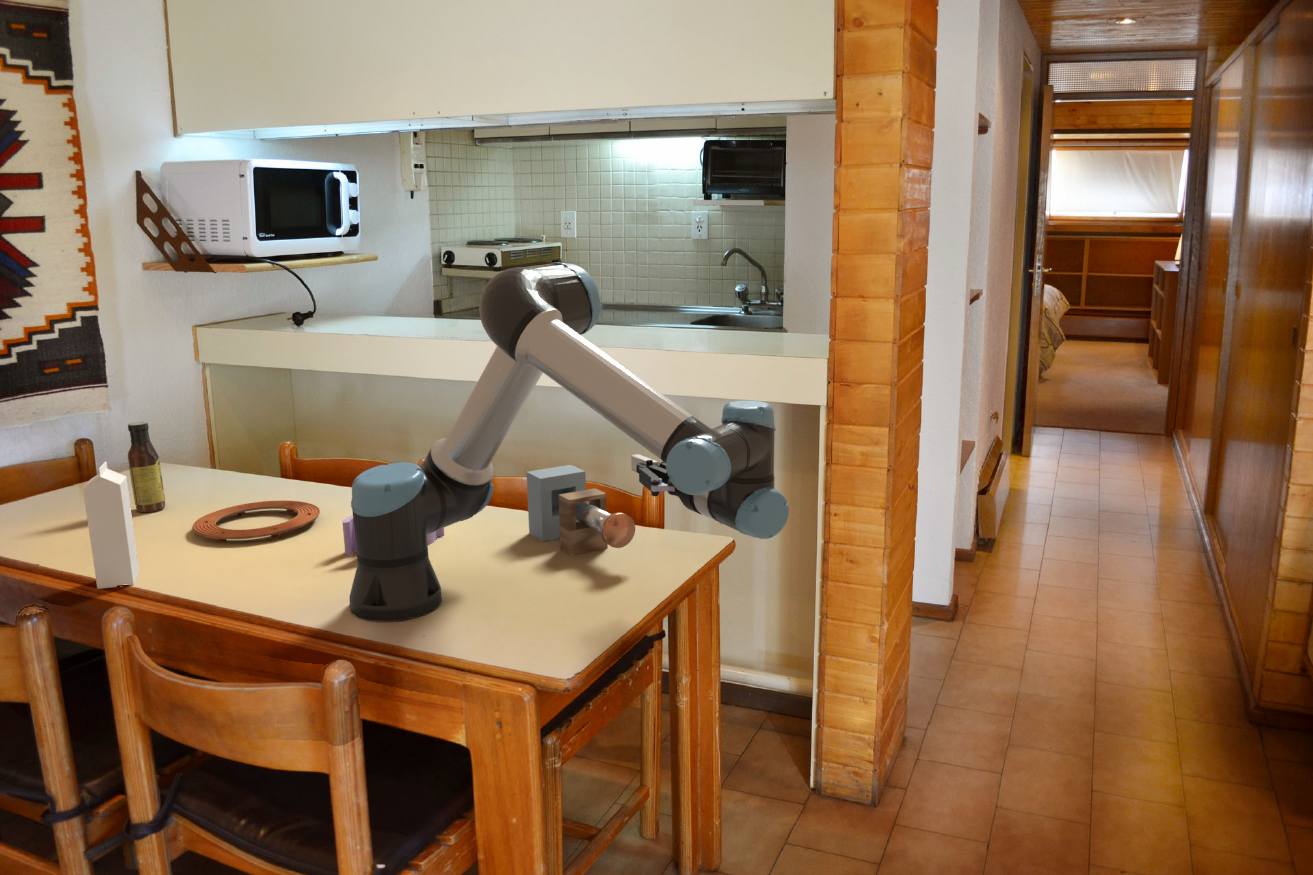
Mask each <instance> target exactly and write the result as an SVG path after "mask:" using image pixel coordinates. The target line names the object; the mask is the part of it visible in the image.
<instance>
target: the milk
mask: <svg viewBox="0 0 1313 875" xmlns="http://www.w3.org/2000/svg"><path fill="white" fill-rule="evenodd" d="M82 491H83V492H82V493H83V499H84V506H85V513H86V521H87V526H88V531H89V532H88V533H89V539H90V540H89V542H90V546H91V553H92V560H93V566H94V574H95V581H96V588H97V590H99V589H109V588H117V585H122V584H134V585H135V583H136V581H137V580H136V578H137V577H139V576H140V568H139V567H140V566H139V559H138V552H137V545H136V538H135V530H134V523H133V516H132V515H133V514H132V510H131V499H130V493H129V486H128V478H127V476H126V475H125V474H121V473H119V472H117V471H114V470H111V469H109V468H108V463H107V461H106V460H105V461H104V462H103V463H102V464H101V465H100V467H98V474H97V475H95V476H94V477H92V478H90V479H89V480H88V482H87V483H85V485H84V486H83V487H82ZM138 575H139V576H138ZM137 579H138V578H137ZM135 580H136V581H135ZM134 582H135V583H134Z"/></svg>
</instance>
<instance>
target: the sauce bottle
mask: <svg viewBox="0 0 1313 875" xmlns="http://www.w3.org/2000/svg"><path fill="white" fill-rule="evenodd" d="M127 429H128V432H129V436H130V448H129V450H128V452H127V460H128V465H129V466H128V469H129V476H130V482H131V488H132V494H133V500H134V501H133V502H134V506H135V509H136V511H137V512H139V513H151V512H157V511H161V510H162V509H164V508H165V507H166V495H165V490H164V483H163V476H162V469H161V463H160V458H159V454H158V453H157V451H156V449H155V447H154V445H153V444H152V442H151V439H150V434H149V433H150V432H149V423H148V422H147V421H135V422H131V423H128V424H127Z"/></svg>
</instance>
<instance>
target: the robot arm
mask: <svg viewBox="0 0 1313 875" xmlns="http://www.w3.org/2000/svg"><path fill="white" fill-rule="evenodd" d="M478 307H479V308H478V310H479V311H478V313H479V318H480V321H481V322H480V323H481V324H482V327H483V329H484V331H485V333H486V334H487V336H488V338H489V339H490V340H491V341H492V342H493V344H495V346H496V347H495V349H494V351H493V353H492V355H491V356H490V359H489V360H488V362H487V364H486V366H485V367H484V370H483V371H482V372H481V375H480V376H479V379H478V380H477V382H476V384H475V386H474V387H473V390H472V391H471V392H470V395H469V397H468V399H467V400H466V402H465V404H464V406H463V408H462V409H461V411H460V413H459V415H458V416H457V419H456V420H455V422H454V425H453V426H452V428H451V430H450V431H449V433H448V435H447V437H442V438H440V439H438V440H436V441H435V442H434V443H433V444H432V446H431V448H429V449H430V450H429V451H428V453H427V455H426V457H425V458H424V461H423V462H422V463H421V464H420V465H418V464H415V463H411V462H405V461H402V462H390V463H389V464H386V465H385V464H380V465H376V466H374V467H371V468H369V469H367V470H365V471H363V472H361V473H360V474H358V475H357V476H356V477H355V479H354V480H353V482H352V485H351V501H350V503H351V504H350V507H351V511H352V516H353V521H354V531H355V541H356V551H355V552H356V561H357V563H356V564H357V565H356V569H355V574H354V578H353V581H352V585H351V589H350V593H349V600H348V601H349V609H350V612H351V614H352V615H353V616H355V617H356V618H359V619H362V620H366V621H371V622H396V621H397V622H398V621H405V620H409V619H414V618H417V617H418V618H419V617H421V616H424V615H426V614H428V613H431V612H433V611H434V610H436V609H438V607H439V606H441V604H442V602H443V597H442V596H443V595H442V586H441V583H440V581H439V579H438V577H437V574H436V571H435V570H434V567H433V565H432V563H431V560H430V556H429V545H428V541H427V534H429V533H432V532H434V531H437V530H439V529H442V528H444V529H445V528H446V527H448V526H451V525H454V524H457V523H459V522H463V521H466V520H469V519H471V518H472V517H474V516H476V515H477V514H478V513H480V512H482V511H483V510H484V509H485V508H486V507H487V506H488V504H489V503H490V501H491V499H492V496H493V494H494V488H495V487H494V486H495V485H494V484H493V481H492V480H493V479H494V466H493V464H492V460H493V459H494V457H495V456H496V454H497V452H498V450H499V449H500V448H501V446H502V443H503V442H504V441H505V438H506V437H507V435H508V434H509V431H510V430H511V428H512V427H513V425H514V423H515V421H516V420H517V418H518V416H519V414H520V413H521V411H522V409H523V407H524V406H525V404H526V402H528V399H529V397H530V396H531V394H532V393H533V390H534V388H535V387H536V385H537V383H538V381H539V380H540V378H541V376H542V375H543V374H545V376H547V377H548V378H550V379H551V380H552V381H554V383H557V385H559V386H560V387H561V388H563V389H565V390H566V391H567V392H569V393H570V395H573V396H574V397H575V398H577V399H579V401H581V402H582V403H583V404H585V405H586V406H588V407H589V408H590V409H591V410H593V411H594V412H596V413H597V414H598V415H600V417H603V418H604V419H605V420H607V421H608V422H609V423H611V424H612V425H614V426H615V427H616V428H617V429H619V430H621V431H622V433H624V434H626V435H627V436H628V437H630V438H631V439H632V440H634V441H635V442H636V443H638V444H639V445H641V446H642V447H643V448H645V449H646V450H647V451H649V452H650V453H651V454H653V455H654V456H656V457H657V458H658V459H659V460H660V462H659V461H657V460H655V459H652V458H650V457H647V456H644V455H641V454H640V453H638V454H632V455H631V454H630V460H631V464H630V465H631V466H630V467H631V471H633V472H635V473H637V474H638V482H639V483H640V484H641V485H643V486H644V488H646V489H647V490H648V491H650V496H652V497H658V496H660V494H663V492H667V493H668V495H670V496H676V497H677V498H679V500H680V502H681V503H682V504H683V506H685V508H687V510H690V511H691V512H694V513H697V514H699V515H702V516H704V517H706V518H708V519H711V520H713V521H716V522H718V523H719V524H720V525H725V526H727V527H728V528H731V529H733V530H735V531H738V532H739V534H742V535H746V536H749V537H752V538H754V539H755V538H756V539H760V540H768V539H772V538H774V537H775V536H777V535H778V534H779V533H781V531H782V530H783V529H784V528H785V526H786V525H787V522H788V519H789V515H790V506H789V504H788V501H787V498H786V496H785V495H784V494H783V493H782V492H781V491H779V490H778V489H776V488H775V473H774V472H775V438H776V437H775V436H776V435H775V432H776V426H775V411H774V408H773V406H772V405H771V404H770V403H768V402H764V401H759V400H736V401H731V402H728V403H726V404H725V405H724V406H723V408H722V414H721V415H722V416H721V419H720V420H721V421H720V422H721V424H720V425H718V426H715V427H713V428H711V427H709V425H707V424H705V423H704V422H702V421H701V420H700V419H698V418H696V417H695V416H693V415H692V414H691V413H690V412H688V411H687V410H685V409H684V408H683V407H681V406H679V405H678V404H677V403H676V402H674V401H672V400H671V399H670V398H669V397H667V396H666V395H664V394H663V393H661V391H659V390H657V389H656V388H655V387H653V386H652V385H651V384H649V383H647V381H645V380H644V379H642V378H641V377H639V375H636V374H635V373H634V372H633V371H631V370H630V369H628V368H627V367H625V366H624V365H623V364H622V363H620V362H618V361H617V360H616V359H614V358H613V356H612V357H611V355H609V354H608V353H607V352H604V351H603V350H602V349H600V348H599V347H598V346H596V345H595V344H593V343H592V342H590V340H588V339H586V338H585V337H584V336H583V335H584V334H587V332H588V331H590V330H592V328H593V327H595V326H596V324H597V322H598V320H599V317H600V314H601V308H602V301H601V297H600V294H599V289H598V286H597V283H596V282H595V280H594V279H593V277H592V276H591V275H590V273H589V272H588V271H586V270H585V269H584V268H582V267H581V266H579V265H576V264H574V263H563V262H555V261H554V262H552V263H548V264H540V265H531V266H530V265H529V266H523V267H521V266H519V267H518V266H517V267H511V268H507V269H504V270H502V271H500V272H498V273H496V274H495V275H494V276H493V277H491V278H490V279H489V281H488V282H487V283H486V284H485V287H484V288H483V290H482V293H481V296H480V298H479V306H478Z"/></svg>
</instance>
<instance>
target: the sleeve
mask: <svg viewBox="0 0 1313 875" xmlns="http://www.w3.org/2000/svg"><path fill="white" fill-rule="evenodd" d="M584 501H586V502H589V503H590V504H592V505H594V506H596V507H598V508H600V509H602V510H604V511H606V512H608V511H607V510H608V509H607V493H606V492H604V491H602V490H599V489H597V488H590V489H586V490H583V491H577V492H571V493H565V494H560V495H559V519H560V538H559V540H560V541H559V543H560V545H559V546H560V549H561V550H562V551H564V552H565V553H567V554H568V555H570V556H574V555H577V554H578V555H579V554H584V553H589V552H594V551H598V550H602V549H608V546H609V545H608V544H607V543H605V541H604V540H603V538H602V533H600V532H598V531H596V530H594V529H592V528H591V527H589V526H587V525H585V524H583V523H581V522H576V508H575V503H579V502H584Z"/></svg>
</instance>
